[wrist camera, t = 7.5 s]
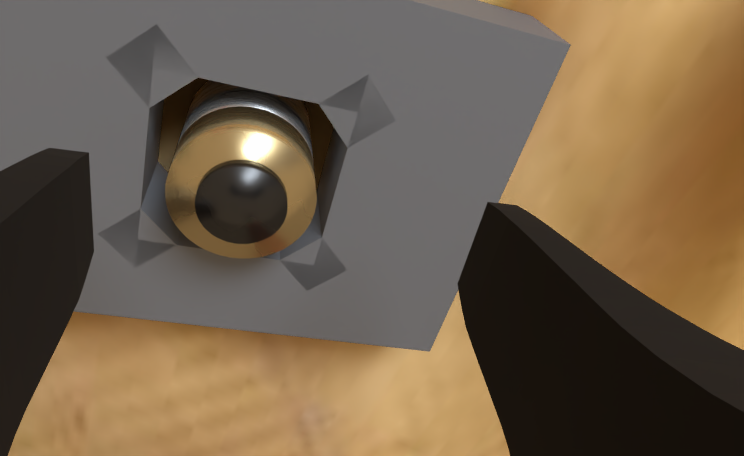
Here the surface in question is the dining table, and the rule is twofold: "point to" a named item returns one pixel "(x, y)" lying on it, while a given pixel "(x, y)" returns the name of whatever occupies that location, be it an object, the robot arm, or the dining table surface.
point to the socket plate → (342, 163)
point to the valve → (242, 172)
